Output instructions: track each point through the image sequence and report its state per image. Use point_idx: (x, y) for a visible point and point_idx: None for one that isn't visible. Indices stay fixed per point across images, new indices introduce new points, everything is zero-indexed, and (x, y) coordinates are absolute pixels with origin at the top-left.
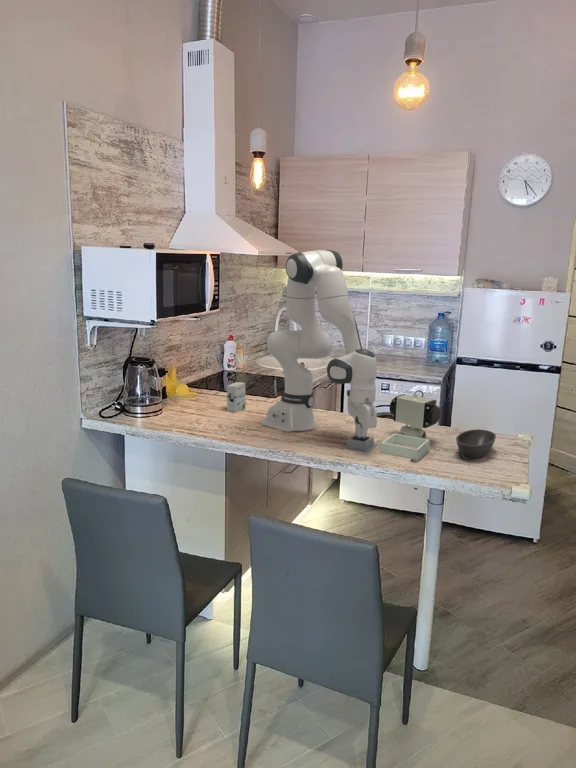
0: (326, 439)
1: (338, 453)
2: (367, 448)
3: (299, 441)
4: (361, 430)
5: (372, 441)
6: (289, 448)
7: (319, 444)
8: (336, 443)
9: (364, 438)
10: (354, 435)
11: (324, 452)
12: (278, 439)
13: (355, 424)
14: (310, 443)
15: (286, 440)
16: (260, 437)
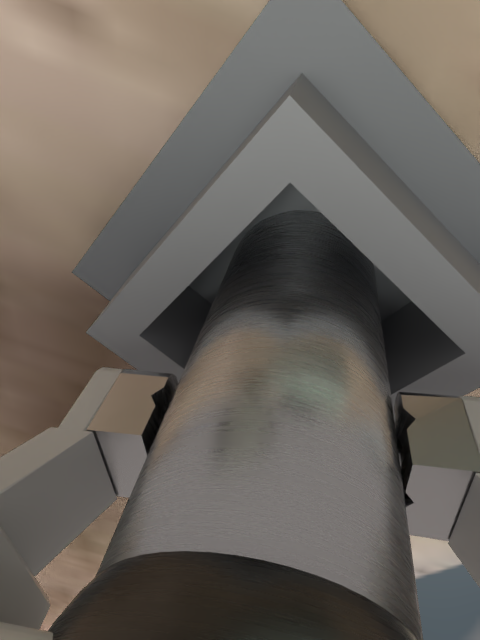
0: (17, 416)
1: None
2: (463, 250)
3: (85, 540)
4: (414, 531)
5: (338, 132)
6: None
7: None
8: None
9: (380, 336)
10: (155, 370)
11: None
12: (64, 587)
13: (75, 518)
14: (119, 514)
15: (75, 572)
16: (46, 617)
